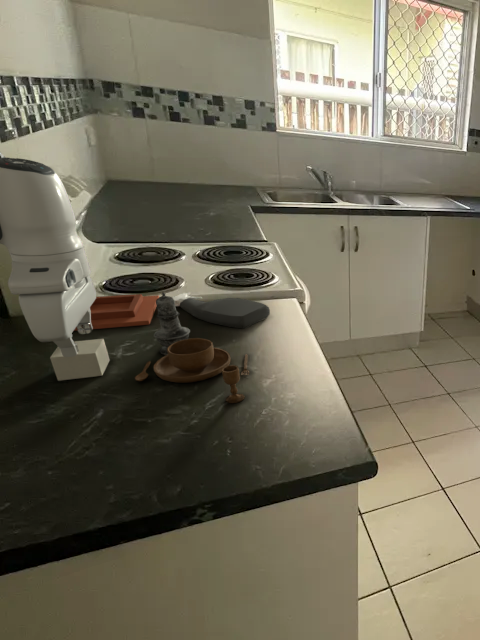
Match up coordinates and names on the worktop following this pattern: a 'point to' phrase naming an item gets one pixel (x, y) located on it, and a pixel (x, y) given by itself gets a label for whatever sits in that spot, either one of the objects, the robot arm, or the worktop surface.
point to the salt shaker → (169, 324)
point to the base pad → (122, 311)
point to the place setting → (197, 365)
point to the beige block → (81, 361)
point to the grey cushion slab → (224, 310)
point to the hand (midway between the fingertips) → (79, 343)
